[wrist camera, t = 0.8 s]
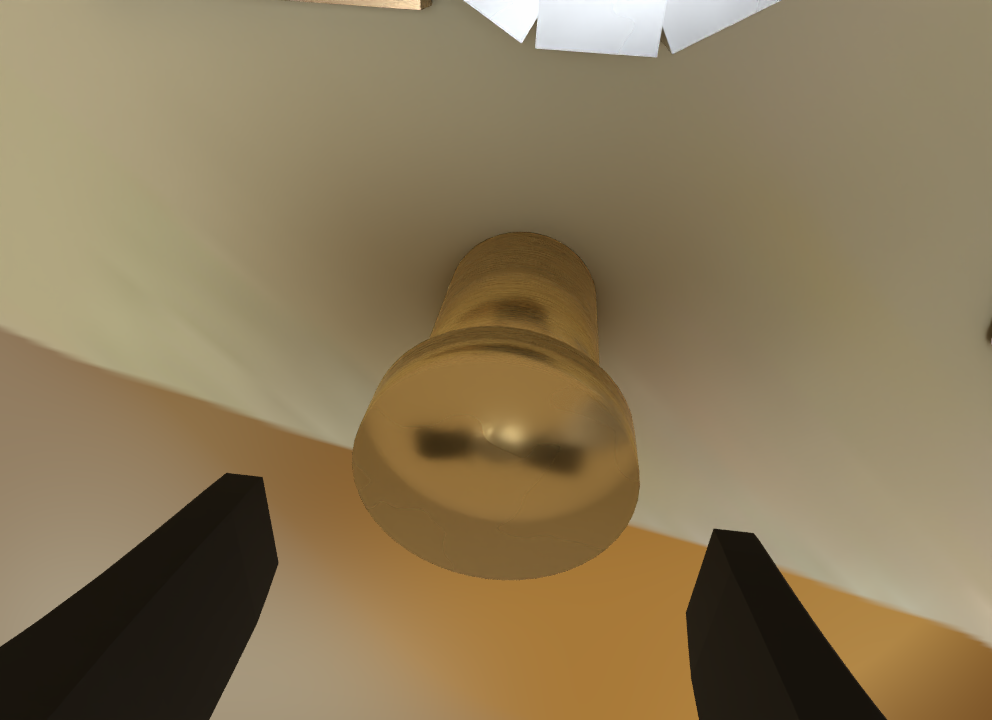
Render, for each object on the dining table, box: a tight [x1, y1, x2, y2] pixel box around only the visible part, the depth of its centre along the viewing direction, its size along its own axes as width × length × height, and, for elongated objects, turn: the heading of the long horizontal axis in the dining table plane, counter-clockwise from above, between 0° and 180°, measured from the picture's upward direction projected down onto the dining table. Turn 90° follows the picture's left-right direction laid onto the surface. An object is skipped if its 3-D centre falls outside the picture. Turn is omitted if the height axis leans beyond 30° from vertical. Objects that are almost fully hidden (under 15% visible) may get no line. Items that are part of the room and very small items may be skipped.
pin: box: [352, 232, 640, 580], centre depth 15 cm, size 5×5×7 cm
